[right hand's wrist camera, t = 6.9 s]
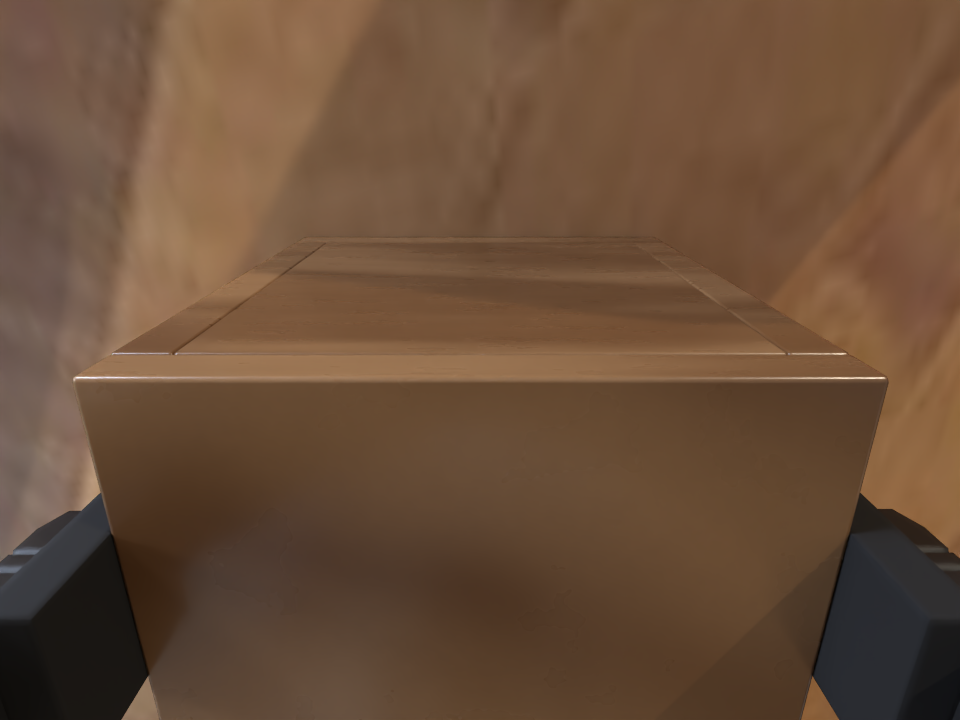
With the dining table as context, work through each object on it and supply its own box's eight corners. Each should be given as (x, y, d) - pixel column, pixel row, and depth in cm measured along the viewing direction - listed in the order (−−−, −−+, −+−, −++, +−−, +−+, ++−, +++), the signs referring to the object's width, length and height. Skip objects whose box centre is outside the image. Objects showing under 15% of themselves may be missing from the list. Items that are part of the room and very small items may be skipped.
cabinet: (603, 749, 26) (687, 1164, 15) (356, 749, 26) (273, 1164, 15) (656, 236, 18) (893, 377, 8) (304, 236, 18) (67, 377, 8)
